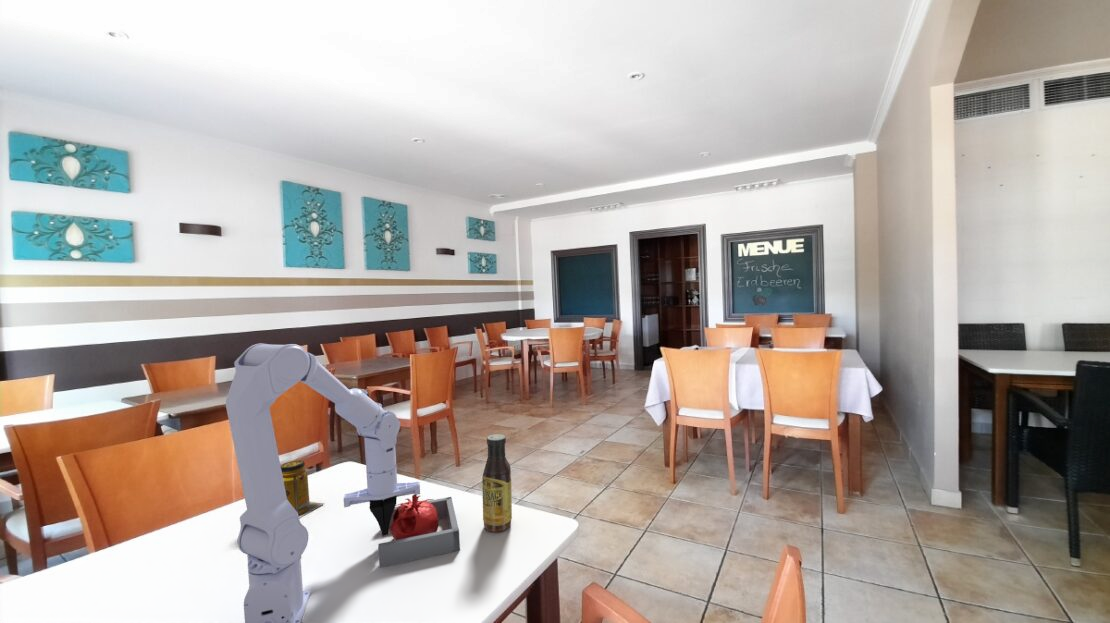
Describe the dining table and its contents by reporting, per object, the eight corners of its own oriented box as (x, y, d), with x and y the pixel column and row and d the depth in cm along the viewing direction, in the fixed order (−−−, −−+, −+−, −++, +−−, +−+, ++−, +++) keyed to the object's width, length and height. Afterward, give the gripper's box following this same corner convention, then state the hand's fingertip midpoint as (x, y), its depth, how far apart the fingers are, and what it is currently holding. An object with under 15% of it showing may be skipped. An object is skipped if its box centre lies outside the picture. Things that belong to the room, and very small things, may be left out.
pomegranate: (423, 521, 101) (422, 480, 101) (448, 536, 95) (446, 492, 94) (381, 539, 94) (379, 495, 94) (405, 556, 87) (403, 509, 87)
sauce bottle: (477, 530, 96) (473, 439, 95) (494, 516, 102) (490, 430, 101) (502, 536, 93) (498, 442, 92) (518, 522, 99) (514, 433, 98)
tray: (460, 550, 89) (459, 530, 89) (379, 567, 84) (378, 547, 84) (452, 513, 104) (451, 496, 104) (383, 526, 99) (382, 509, 99)
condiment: (272, 517, 106) (268, 467, 106) (303, 501, 114) (300, 454, 114) (295, 521, 104) (291, 470, 103) (325, 504, 112) (321, 457, 111)
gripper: (417, 456, 97) (421, 517, 98) (345, 467, 93) (349, 531, 93) (418, 467, 91) (422, 533, 91) (340, 480, 86) (345, 549, 87)
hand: (385, 533), depth 92 cm, fingers closed
